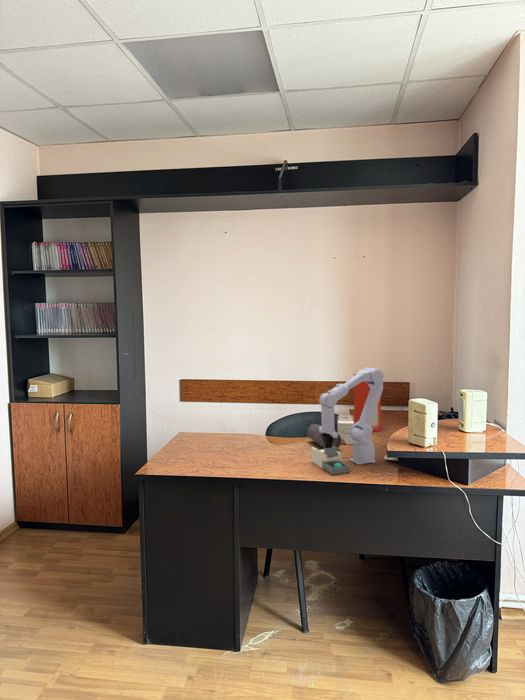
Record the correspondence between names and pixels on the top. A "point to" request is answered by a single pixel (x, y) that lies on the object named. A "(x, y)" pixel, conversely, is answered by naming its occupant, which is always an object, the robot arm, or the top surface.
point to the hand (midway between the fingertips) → (328, 449)
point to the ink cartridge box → (345, 428)
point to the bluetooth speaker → (316, 436)
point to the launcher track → (323, 457)
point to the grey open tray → (336, 471)
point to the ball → (337, 465)
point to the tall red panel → (359, 402)
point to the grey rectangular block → (330, 451)
